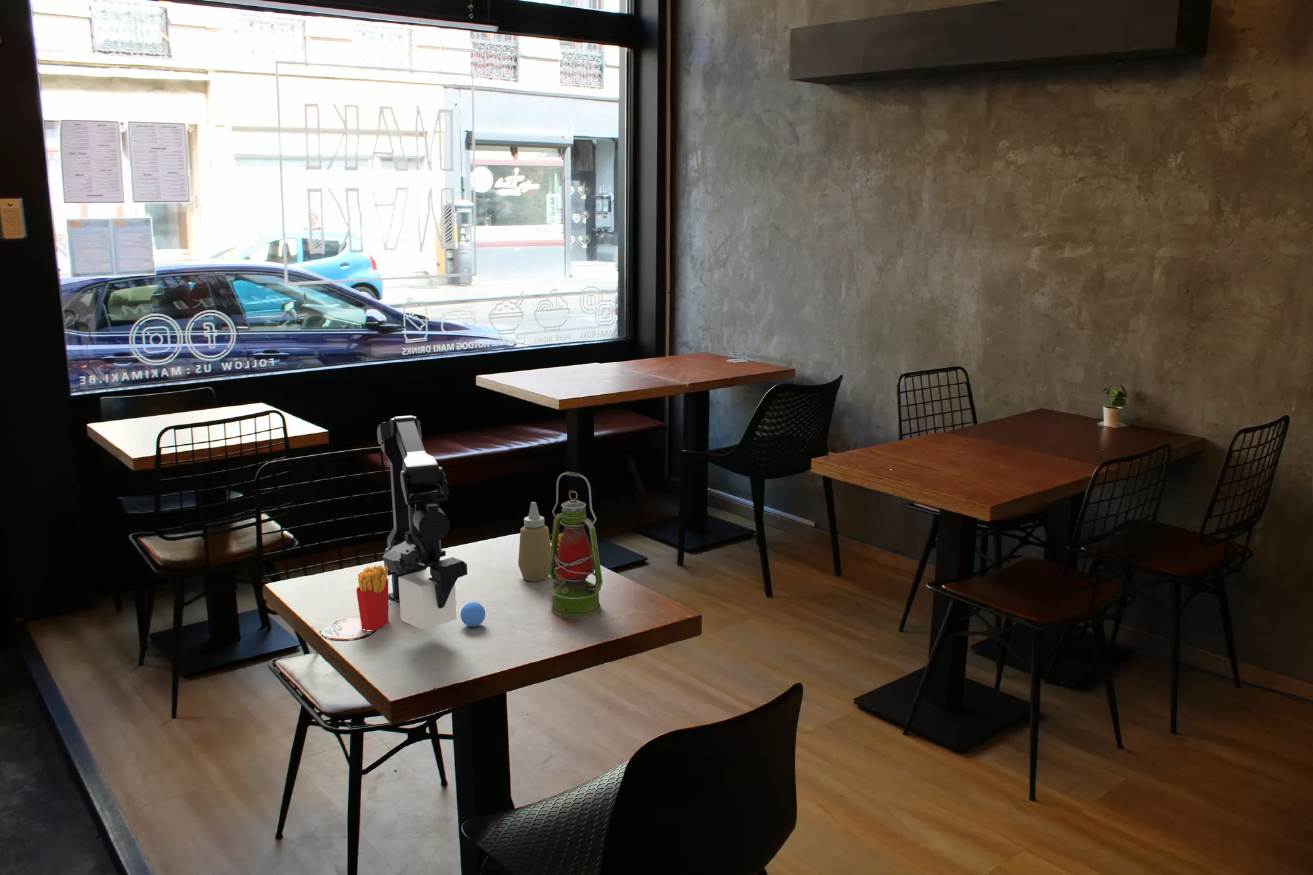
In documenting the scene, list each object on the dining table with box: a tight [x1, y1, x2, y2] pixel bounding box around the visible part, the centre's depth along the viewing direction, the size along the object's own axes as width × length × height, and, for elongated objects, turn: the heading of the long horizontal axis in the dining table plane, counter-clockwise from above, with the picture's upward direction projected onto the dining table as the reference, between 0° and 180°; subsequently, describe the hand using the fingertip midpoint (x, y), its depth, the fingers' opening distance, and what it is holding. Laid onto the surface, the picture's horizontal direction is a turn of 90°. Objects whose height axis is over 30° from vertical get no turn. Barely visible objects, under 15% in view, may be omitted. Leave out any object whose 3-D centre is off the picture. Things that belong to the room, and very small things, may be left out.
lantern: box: [549, 471, 603, 619], centre depth 222 cm, size 14×11×30 cm
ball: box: [460, 601, 486, 628], centre depth 216 cm, size 5×5×5 cm
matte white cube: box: [398, 567, 457, 631], centre depth 207 cm, size 8×8×9 cm
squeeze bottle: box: [517, 501, 552, 582], centre depth 242 cm, size 8×8×18 cm
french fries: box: [355, 564, 390, 631], centre depth 216 cm, size 8×4×12 cm, turn 158°
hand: (428, 602), depth 207 cm, fingers closed on matte white cube, 8 cm apart
